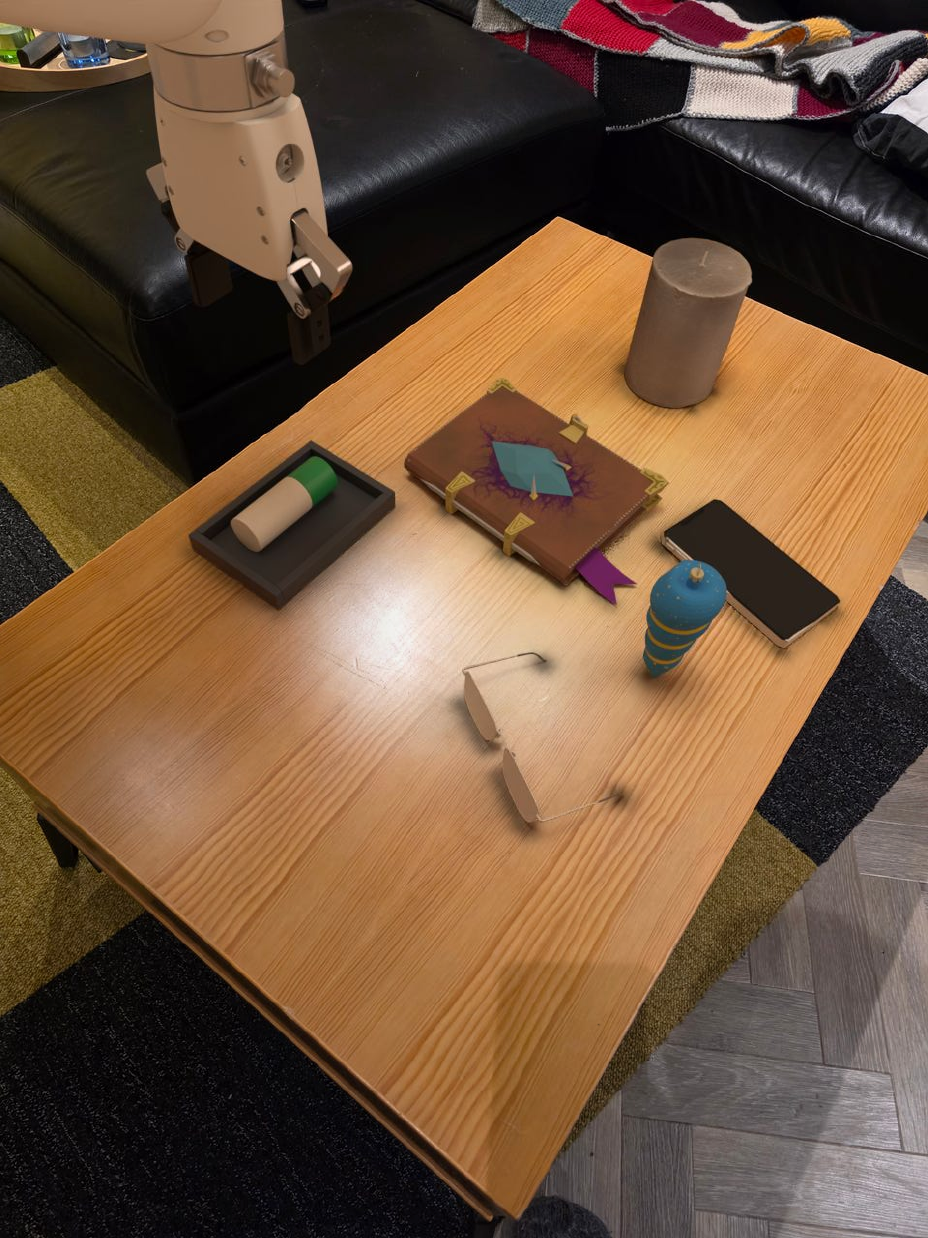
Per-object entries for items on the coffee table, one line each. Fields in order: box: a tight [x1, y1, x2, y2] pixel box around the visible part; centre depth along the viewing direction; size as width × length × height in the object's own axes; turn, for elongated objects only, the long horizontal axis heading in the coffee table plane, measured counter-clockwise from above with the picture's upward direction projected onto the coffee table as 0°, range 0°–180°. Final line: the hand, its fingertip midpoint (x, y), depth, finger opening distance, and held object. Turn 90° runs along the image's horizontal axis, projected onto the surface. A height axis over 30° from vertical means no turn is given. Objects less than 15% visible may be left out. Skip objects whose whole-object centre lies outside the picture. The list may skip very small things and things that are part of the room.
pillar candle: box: [624, 237, 753, 409], centre depth 89 cm, size 10×10×15 cm
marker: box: [231, 456, 338, 552], centre depth 79 cm, size 10×4×4 cm
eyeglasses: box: [461, 651, 625, 824], centre depth 68 cm, size 14×8×4 cm, turn 24°
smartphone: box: [660, 498, 841, 649], centre depth 80 cm, size 8×1×15 cm
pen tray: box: [188, 439, 396, 611], centre depth 80 cm, size 16×11×2 cm
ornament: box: [642, 560, 727, 679], centre depth 67 cm, size 5×5×15 cm
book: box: [403, 377, 670, 606], centre depth 82 cm, size 16×25×5 cm, turn 47°
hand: (262, 325), depth 63 cm, fingers open, 9 cm apart
